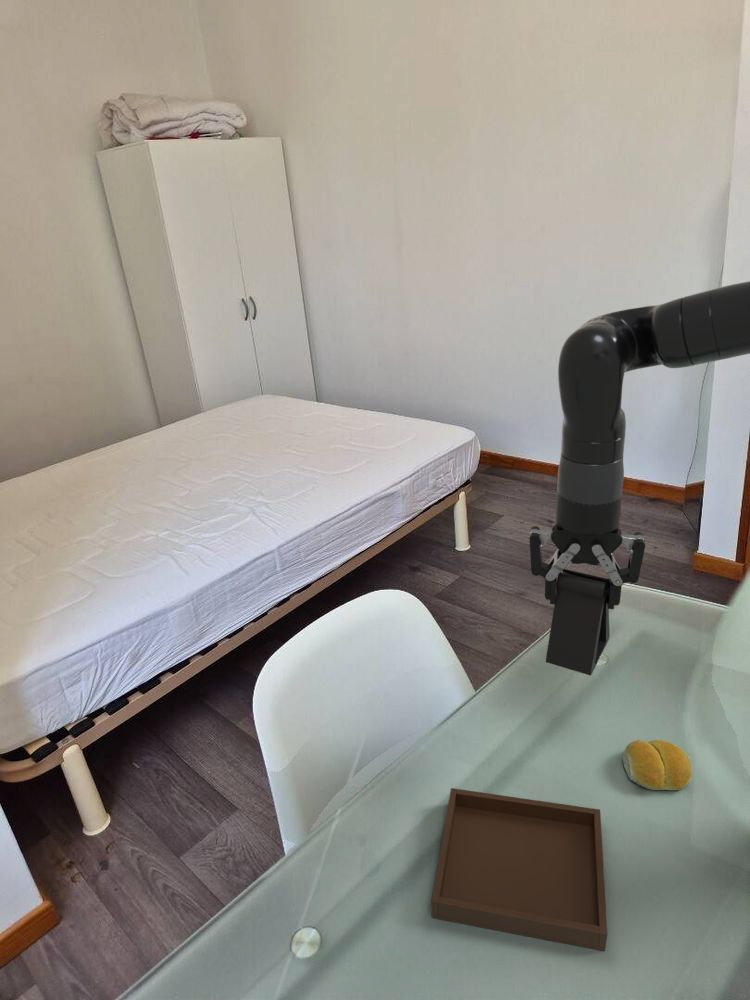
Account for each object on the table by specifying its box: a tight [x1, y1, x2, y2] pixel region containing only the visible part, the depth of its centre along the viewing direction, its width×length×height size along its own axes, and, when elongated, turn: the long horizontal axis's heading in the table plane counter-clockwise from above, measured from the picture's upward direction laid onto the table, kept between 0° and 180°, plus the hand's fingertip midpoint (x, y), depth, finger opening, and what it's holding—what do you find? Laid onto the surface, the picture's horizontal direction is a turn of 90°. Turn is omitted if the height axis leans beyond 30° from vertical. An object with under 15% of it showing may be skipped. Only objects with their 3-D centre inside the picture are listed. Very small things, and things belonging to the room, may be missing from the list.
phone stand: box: [545, 568, 610, 676], centre depth 91 cm, size 9×6×12 cm, turn 148°
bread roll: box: [622, 739, 693, 791], centre depth 98 cm, size 8×9×4 cm
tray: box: [430, 787, 608, 952], centre depth 86 cm, size 20×17×3 cm
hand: (581, 603), depth 90 cm, fingers closed on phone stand, 6 cm apart
